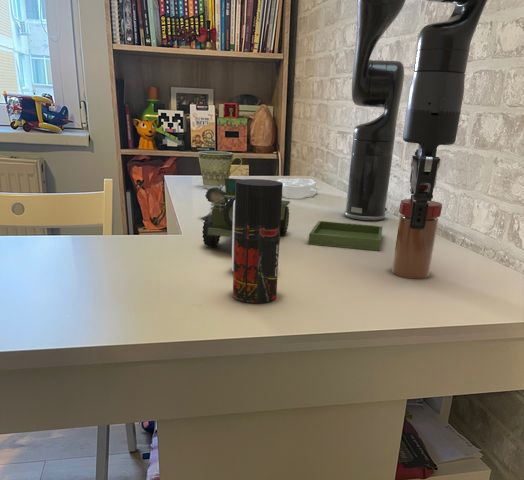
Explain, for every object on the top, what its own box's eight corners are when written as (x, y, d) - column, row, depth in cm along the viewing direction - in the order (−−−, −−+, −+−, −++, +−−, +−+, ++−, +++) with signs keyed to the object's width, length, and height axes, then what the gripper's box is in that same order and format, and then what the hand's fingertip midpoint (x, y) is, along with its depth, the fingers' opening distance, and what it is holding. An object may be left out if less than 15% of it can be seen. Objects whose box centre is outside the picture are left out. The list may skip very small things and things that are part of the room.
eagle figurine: (243, 210, 128) (204, 201, 127) (248, 186, 122) (208, 177, 121) (238, 234, 123) (198, 225, 122) (244, 210, 118) (202, 201, 117)
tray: (317, 230, 117) (318, 220, 116) (381, 236, 115) (382, 226, 114) (308, 244, 105) (309, 233, 104) (379, 250, 103) (380, 240, 102)
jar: (392, 266, 93) (401, 202, 89) (427, 270, 92) (439, 205, 88) (391, 276, 88) (401, 207, 83) (429, 280, 87) (441, 211, 82)
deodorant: (232, 289, 78) (234, 178, 72) (274, 289, 79) (280, 179, 73) (233, 303, 73) (236, 184, 67) (278, 303, 73) (285, 186, 67)
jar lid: (396, 215, 84) (397, 203, 84) (402, 209, 90) (404, 197, 89) (437, 219, 82) (439, 207, 82) (442, 213, 88) (444, 201, 87)
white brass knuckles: (278, 187, 172) (324, 192, 168) (260, 195, 156) (311, 200, 152) (278, 176, 170) (325, 180, 167) (260, 183, 155) (312, 187, 151)
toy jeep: (289, 230, 115) (292, 175, 111) (264, 260, 93) (267, 193, 89) (232, 225, 118) (233, 171, 113) (195, 253, 95) (194, 187, 91)
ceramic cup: (194, 189, 161) (194, 152, 157) (203, 184, 170) (203, 150, 166) (238, 192, 160) (239, 155, 156) (244, 187, 169) (246, 152, 165)
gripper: (405, 106, 87) (390, 213, 94) (408, 106, 74) (391, 230, 81) (455, 109, 86) (437, 217, 92) (467, 109, 73) (444, 235, 80)
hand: (415, 223), depth 87 cm, fingers open, 7 cm apart
